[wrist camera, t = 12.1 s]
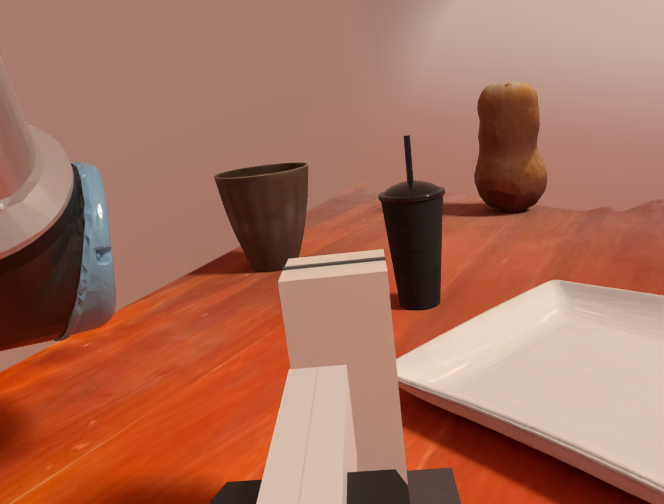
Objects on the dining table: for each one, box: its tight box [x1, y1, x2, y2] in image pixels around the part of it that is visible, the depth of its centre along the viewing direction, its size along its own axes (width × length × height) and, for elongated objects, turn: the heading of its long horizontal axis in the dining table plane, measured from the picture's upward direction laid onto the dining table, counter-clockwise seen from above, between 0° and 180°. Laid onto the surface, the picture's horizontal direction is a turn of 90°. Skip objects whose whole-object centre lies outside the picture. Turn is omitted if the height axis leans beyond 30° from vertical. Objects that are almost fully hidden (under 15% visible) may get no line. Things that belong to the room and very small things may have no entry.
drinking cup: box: [378, 135, 445, 310], centre depth 65 cm, size 8×8×20 cm
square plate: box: [396, 280, 664, 504], centre depth 43 cm, size 27×27×4 cm
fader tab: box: [278, 249, 408, 485], centre depth 29 cm, size 4×5×15 cm
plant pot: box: [214, 163, 308, 272], centre depth 91 cm, size 15×15×16 cm
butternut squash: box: [474, 82, 547, 212], centre depth 110 cm, size 14×13×25 cm
